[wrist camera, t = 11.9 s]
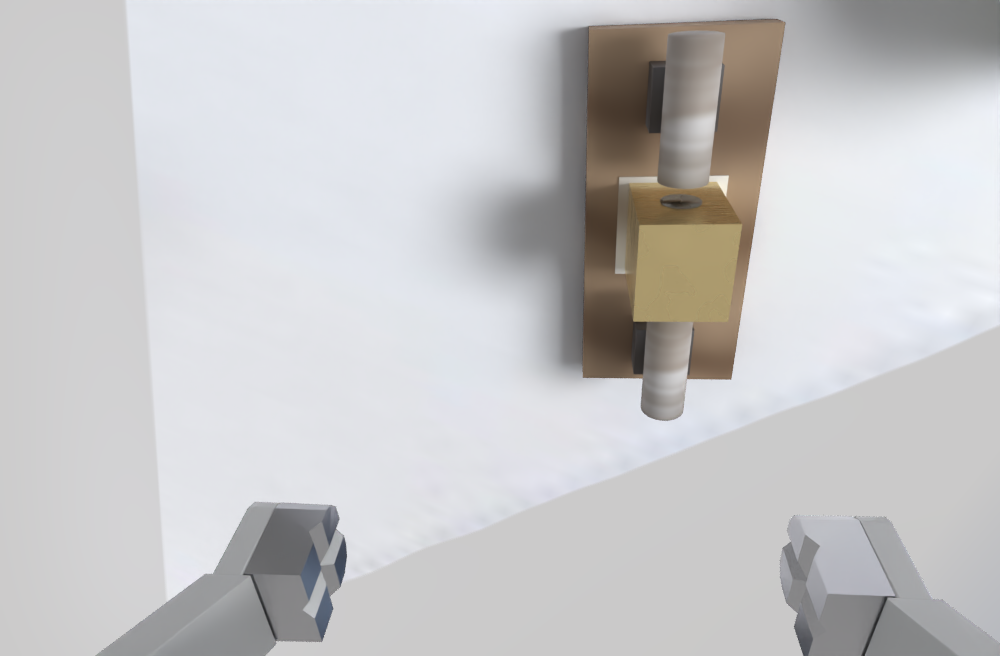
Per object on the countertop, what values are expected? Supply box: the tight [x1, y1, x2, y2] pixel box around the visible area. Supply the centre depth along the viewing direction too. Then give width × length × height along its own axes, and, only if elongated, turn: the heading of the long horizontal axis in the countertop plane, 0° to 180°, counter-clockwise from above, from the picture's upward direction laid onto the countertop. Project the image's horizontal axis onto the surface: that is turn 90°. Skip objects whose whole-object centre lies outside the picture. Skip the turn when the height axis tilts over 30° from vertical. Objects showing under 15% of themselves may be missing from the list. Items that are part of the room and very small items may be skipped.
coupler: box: [625, 182, 742, 322], centre depth 34 cm, size 5×4×6 cm
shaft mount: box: [582, 19, 785, 421], centre depth 35 cm, size 20×9×6 cm, turn 3°
